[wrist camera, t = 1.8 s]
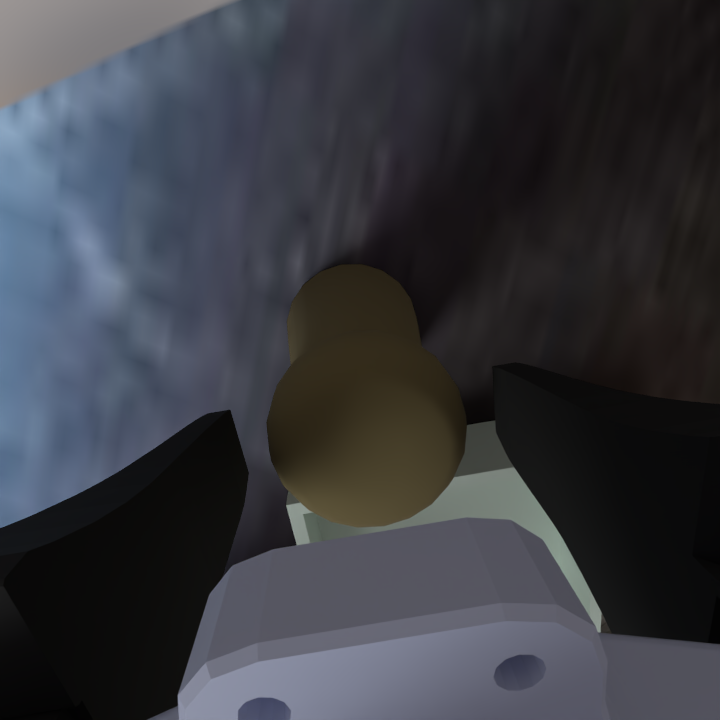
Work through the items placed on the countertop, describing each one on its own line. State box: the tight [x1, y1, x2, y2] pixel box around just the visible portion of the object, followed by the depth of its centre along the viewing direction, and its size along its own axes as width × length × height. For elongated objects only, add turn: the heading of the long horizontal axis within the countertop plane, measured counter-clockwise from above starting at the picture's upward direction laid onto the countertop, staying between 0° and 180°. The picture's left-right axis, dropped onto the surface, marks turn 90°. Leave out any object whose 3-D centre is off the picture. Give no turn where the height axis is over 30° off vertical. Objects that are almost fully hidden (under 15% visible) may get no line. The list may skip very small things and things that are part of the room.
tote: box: [286, 420, 602, 633], centre depth 24 cm, size 14×22×4 cm, turn 9°
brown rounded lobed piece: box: [267, 264, 467, 528], centre depth 15 cm, size 6×6×11 cm
